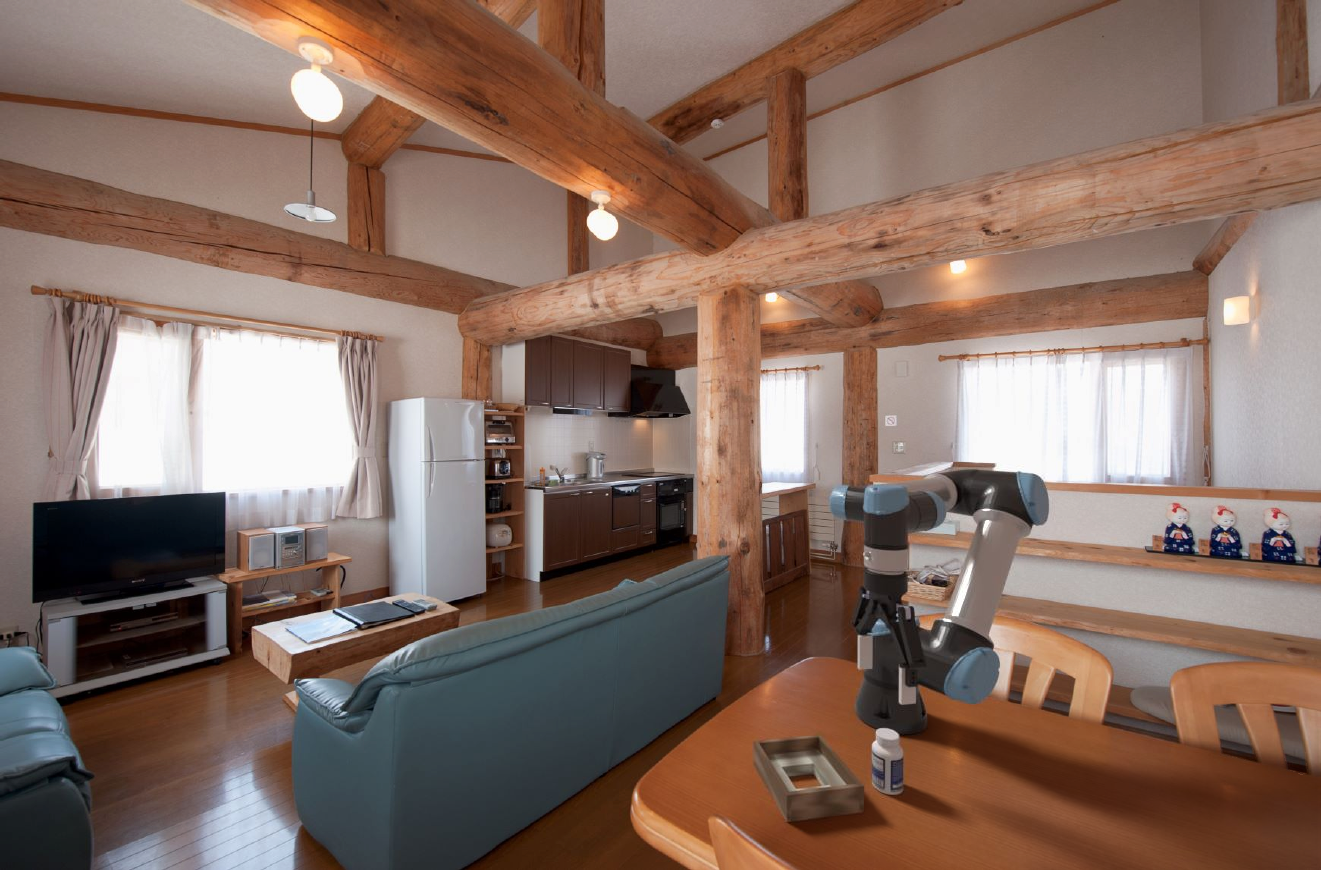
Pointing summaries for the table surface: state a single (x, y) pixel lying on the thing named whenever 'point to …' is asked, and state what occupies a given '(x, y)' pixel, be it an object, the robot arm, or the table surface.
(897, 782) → the pill bottle
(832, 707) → the table surface
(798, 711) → the table surface
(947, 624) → the robot arm
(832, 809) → the box
